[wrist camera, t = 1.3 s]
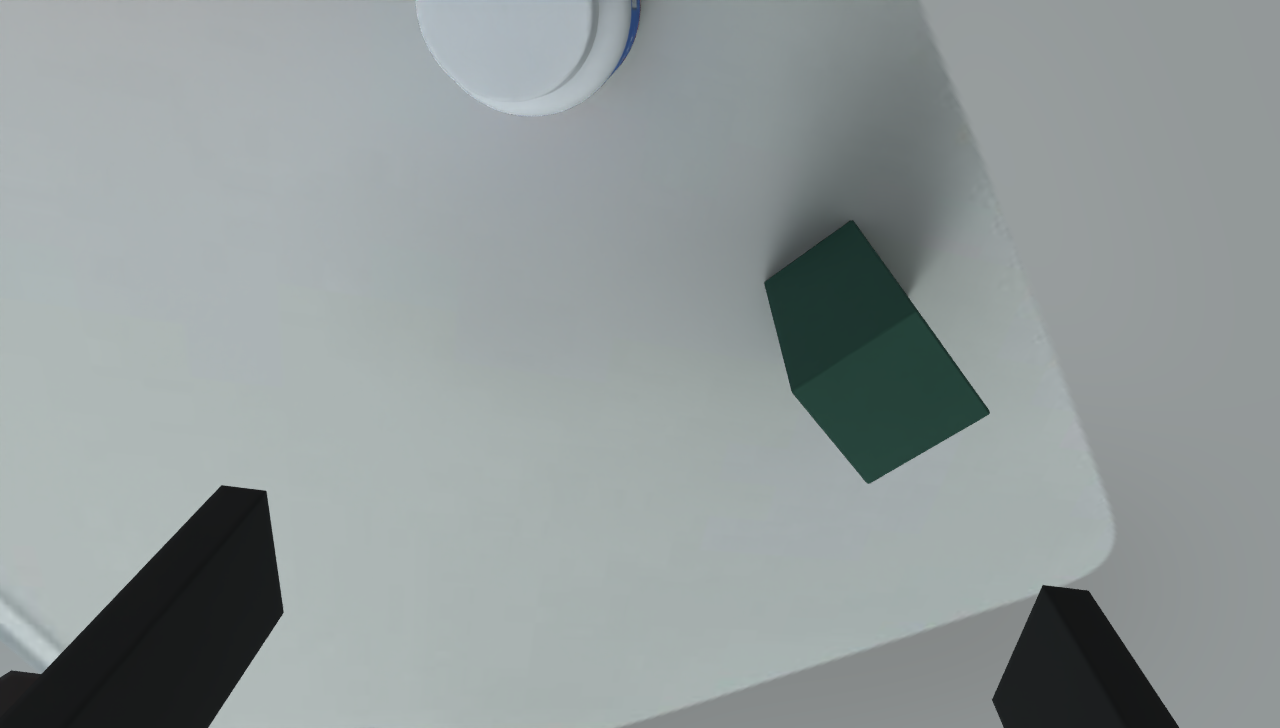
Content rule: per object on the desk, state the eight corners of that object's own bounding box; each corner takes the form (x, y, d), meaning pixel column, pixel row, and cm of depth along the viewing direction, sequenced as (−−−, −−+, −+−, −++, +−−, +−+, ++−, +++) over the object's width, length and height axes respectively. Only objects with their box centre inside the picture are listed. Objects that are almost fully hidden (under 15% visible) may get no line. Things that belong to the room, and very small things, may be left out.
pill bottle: (539, 119, 27) (468, 179, 18) (451, -27, 25) (325, -38, 17) (673, 36, 26) (665, 59, 17) (590, -126, 24) (533, -194, 15)
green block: (851, 218, 28) (916, 309, 20) (909, 298, 29) (991, 413, 21) (763, 282, 29) (790, 391, 21) (821, 355, 31) (867, 485, 23)
